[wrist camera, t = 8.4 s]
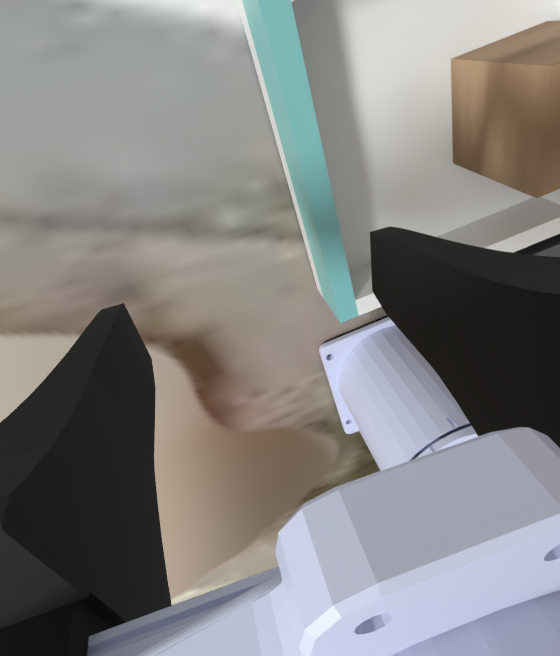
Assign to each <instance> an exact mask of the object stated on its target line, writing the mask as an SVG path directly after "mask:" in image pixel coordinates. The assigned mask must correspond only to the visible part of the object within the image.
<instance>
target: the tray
mask: <svg viewBox="0 0 560 656" xmlns="http://www.w3.org/2000/svg"><path fill="white" fill-rule="evenodd" d="M237 3H238V7H239V10H240V14H241V18H242V21H243V25H244V28H245V32H246V35H247V39H248V43H249V46H250V50H251V53H252V57H253V60H254V64H255V67H256V71H257V75H258V78H259V82H260V85H261V89H262V92H263V96H264V100H265V103H266V107H267V110H268V114H269V117H270V121H271V124H272V128H273V132H274V135H275V139H276V142H277V146H278V149H279V153H280V157H281V160H282V164H283V167H284V171H285V174H286V178H287V181H288V185H289V189H290V192H291V196H292V199H293V203H294V206H295V210H296V214H297V217H298V221H299V224H300V228H301V231H302V235H303V238H304V242H305V246H306V249H307V253H308V256H309V260H310V263H311V267H312V271H313V274H314V278H315V281H316V285H317V288H318V291H319V292H320V294H321V295H322V297H323V298H324V299H325V301H326V302H327V304H328V305H329V307H330V308H331V310H332V311H333V313H334V314H335V316H336V317H337V319H338V320H339V322H340V323H342V322H345V321H347V320H350V319H352V318H354V317H357V316H359V315H362V314H364V313H367V312H369V311H372V310H374V309H376V308H379V307H381V305H380V303H379V301H378V300H377V298H376V296H375V295H374V293H373V291H372V273H371V250H370V232H372V231H375V230H378V229H382V228H385V227H389V226H391V227H398V228H403V229H407V230H411V231H415V232H419V233H423V234H427V235H431V236H434V237H438V238H442V239H446V240H450V241H454V242H458V243H463V244H467V245H472V246H477V247H482V248H487V249H492V250H498V251H504V252H512V253H513V252H516V251H518V250H521V249H523V248H526V247H528V246H530V245H533V244H535V243H538V242H540V241H543V240H545V239H547V238H550V237H552V236H555V235H557V234H560V189H559V190H556V191H554V192H551V193H549V194H546V195H544V196H541V197H539V198H535V197H532V196H530V195H527V194H525V193H523V192H520V191H518V190H515V189H513V188H511V187H508V186H506V185H503V184H501V183H499V182H496V181H494V180H491V179H489V178H487V177H484V176H482V175H479V174H477V173H475V172H472V171H470V170H467V169H465V168H463V167H460V166H458V165H456V164H453V145H452V96H451V59H452V58H454V57H457V56H459V55H462V54H464V53H467V52H469V51H472V50H475V49H477V48H480V47H482V46H485V45H487V44H490V43H492V42H495V41H497V40H500V39H503V38H505V37H508V36H510V35H513V34H515V33H518V32H520V31H523V30H525V29H528V28H531V27H533V26H536V25H538V24H541V23H543V22H546V21H560V0H237Z"/></svg>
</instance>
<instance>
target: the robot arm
mask: <svg viewBox="0 0 560 656" xmlns="http://www.w3.org/2000/svg"><path fill="white" fill-rule="evenodd" d="M370 250H371V273H372V291H373V293H374V295H375V296H376V298H377V300H378V301H379V303H380V305H381V306H382V308H383V309H384V311H385V312H386V314H387V315H388V317H387V318H385V319H382V320H380V321H377V322H375V323H372V324H370V325H368V326H365V327H363V328H360V329H358V330H355V331H353V332H350V333H348V334H346V335H343V336H341V337H338V338H336V339H333V340H331V341H329V342H326V343H324V344H322V345H321V346H320V348H319V352H320V355H321V359H322V362H323V365H324V368H325V371H326V374H327V378H328V381H329V384H330V387H331V390H332V394H333V397H334V400H335V403H336V406H337V409H338V413H339V416H340V419H341V422H342V425H343V428H344V431H345V432H346V433H347V434H351V433H354V432H357V431H360V433H361V435H362V437H363V439H364V440H365V442H366V444H367V446H368V448H369V450H370V452H371V454H372V455H373V457H374V459H375V461H376V463H377V465H378V467H379V468H380V470H381V471H380V472H377V473H374V474H371V475H368V476H365V477H363V478H360V479H357V480H354V481H351V482H348V483H346V484H343V485H340V486H337V487H335V488H333V489H331V490H329V491H327V492H325V493H323V494H321V495H319V496H317V497H316V498H314V499H312V500H310V501H308V502H306V503H304V504H303V505H302V506H301V507H300V508H299V509H298V510H297V511H296V512H295V513H294V514H293V515H292V516H291V518H290V519H289V520H288V521H287V522H286V523H285V524H284V525H283V526H282V528H281V530H280V531H279V533H278V540H277V547H276V556H277V560H278V564H279V566H278V567H275V568H273V569H270V570H267V571H264V572H262V573H259V574H256V575H254V576H251V577H248V578H245V579H243V580H240V581H237V582H235V583H232V584H229V585H226V586H224V587H221V588H218V589H216V590H213V591H210V592H208V593H205V594H202V595H199V596H197V597H194V598H191V599H189V600H186V601H183V602H180V603H178V604H175V605H171V599H170V593H169V587H168V581H167V574H166V566H165V559H164V552H163V545H162V538H161V529H160V521H159V512H158V504H157V493H156V484H155V483H156V482H155V472H154V431H155V382H154V373H153V366H152V359H151V357H150V355H149V353H148V351H147V349H146V347H145V345H144V343H143V341H142V339H141V337H140V335H139V333H138V331H137V329H136V327H135V325H134V323H133V321H132V319H131V317H130V315H129V313H128V311H127V309H126V307H125V305H124V303H123V304H120V305H116V306H113V307H109V308H106V309H102V310H101V311H100V312H99V313H98V314H97V315H96V316H95V318H94V319H93V320H92V321H91V323H90V324H89V325H88V327H87V328H86V329H85V331H84V332H83V333H82V335H81V336H80V337H79V338H78V340H77V341H76V342H75V344H74V345H73V346H72V348H71V349H70V350H69V351H68V353H67V354H66V355H65V356H64V358H63V359H62V360H61V361H60V362H59V363H58V365H57V366H56V367H55V368H54V369H53V370H52V372H51V373H50V374H49V375H48V376H47V378H46V379H45V380H44V381H43V382H42V383H41V384H40V385H39V386H38V387H37V389H35V391H34V392H33V393H32V394H31V395H30V396H29V397H28V398H27V399H26V400H25V401H24V402H23V403H21V404H20V405H19V406H18V407H17V409H15V410H14V411H13V412H12V413H11V414H10V415H9V416H8V417H7V418H5V419H4V420H3V421H2V422H1V423H0V656H560V257H550V256H537V255H527V254H520V253H512V252H504V251H498V250H492V249H487V248H482V247H477V246H472V245H467V244H463V243H458V242H454V241H450V240H446V239H442V238H438V237H434V236H431V235H427V234H423V233H419V232H415V231H411V230H407V229H403V228H398V227H391V226H389V227H385V228H382V229H378V230H375V231H372V232H370ZM329 354H331V355H330V356H328V357H327V355H329Z"/></svg>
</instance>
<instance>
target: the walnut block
mask: <svg viewBox="0 0 560 656" xmlns="http://www.w3.org/2000/svg"><path fill="white" fill-rule="evenodd" d="M451 96H452V145H453V164H456V165H458V166H460V167H463V168H465V169H467V170H470V171H472V172H475V173H477V174H479V175H482V176H484V177H487V178H489V179H491V180H494V181H496V182H499V183H501V184H503V185H506V186H508V187H511V188H513V189H515V190H518V191H520V192H523V193H525V194H527V195H530V196H532V197H535V198H539V197H541V196H544V195H546V194H549V193H551V192H554V191H556V190H559V189H560V21H546V22H543V23H541V24H538V25H536V26H533V27H531V28H528V29H525V30H523V31H520V32H518V33H515V34H513V35H510V36H508V37H505V38H503V39H500V40H497V41H495V42H492V43H490V44H487V45H485V46H482V47H480V48H477V49H475V50H472V51H469V52H467V53H464V54H462V55H459V56H457V57H454V58H452V59H451Z"/></svg>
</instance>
